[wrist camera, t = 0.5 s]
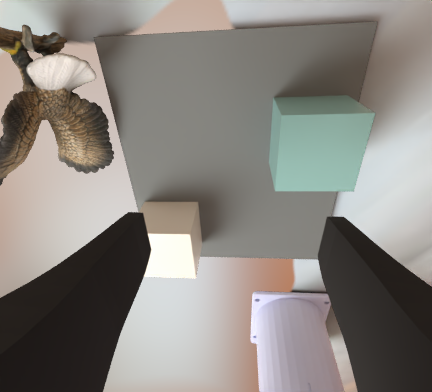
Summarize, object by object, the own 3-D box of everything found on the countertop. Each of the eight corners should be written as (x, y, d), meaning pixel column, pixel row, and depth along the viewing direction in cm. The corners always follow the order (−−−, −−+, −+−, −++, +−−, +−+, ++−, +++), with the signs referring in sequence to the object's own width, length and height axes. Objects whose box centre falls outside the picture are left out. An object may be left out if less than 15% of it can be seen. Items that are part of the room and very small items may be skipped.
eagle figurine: (-53, 23, 15) (-13, 181, 19) (-124, -8, 9) (-44, 232, 13) (100, 46, 19) (109, 172, 23) (122, 35, 13) (129, 209, 17)
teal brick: (333, 161, 18) (353, 191, 15) (268, 162, 19) (275, 191, 16) (347, 95, 16) (375, 113, 13) (273, 97, 16) (281, 115, 13)
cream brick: (202, 242, 24) (195, 278, 20) (154, 241, 24) (140, 276, 21) (198, 201, 21) (190, 234, 18) (144, 201, 22) (127, 233, 18)
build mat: (319, 256, 24) (320, 259, 24) (150, 252, 26) (149, 255, 25) (374, 21, 14) (377, 21, 14) (96, 37, 16) (93, 37, 15)
